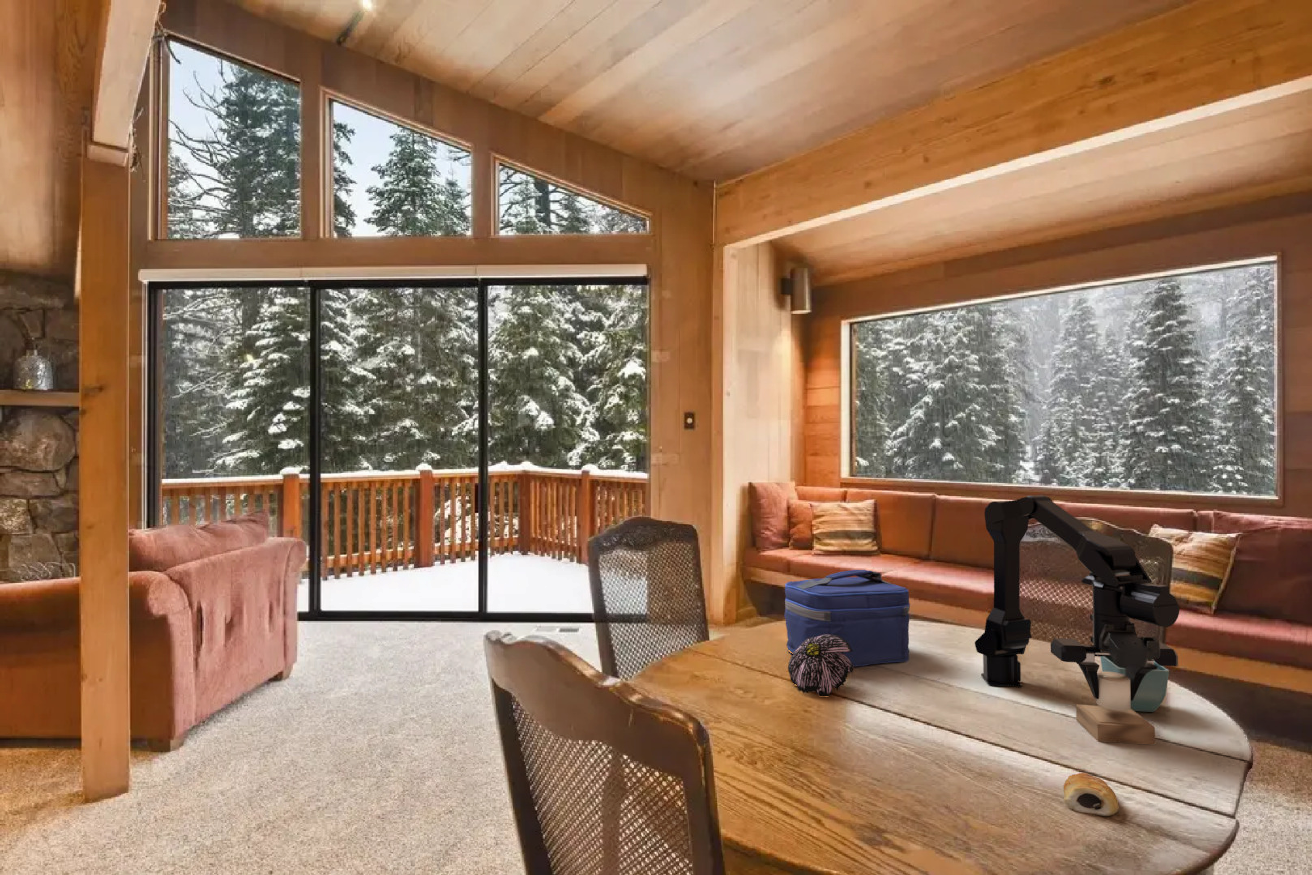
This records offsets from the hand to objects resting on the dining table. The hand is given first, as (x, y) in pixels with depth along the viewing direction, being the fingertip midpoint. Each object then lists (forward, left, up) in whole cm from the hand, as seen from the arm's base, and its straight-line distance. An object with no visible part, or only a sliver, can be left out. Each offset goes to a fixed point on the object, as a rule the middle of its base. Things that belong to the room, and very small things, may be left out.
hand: (1113, 699), depth 124 cm
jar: (0, 0, -1) cm, 1 cm away
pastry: (-15, -26, -6) cm, 31 cm away
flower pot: (+9, +13, -6) cm, 17 cm away
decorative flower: (-51, +16, -6) cm, 54 cm away
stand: (0, 0, -6) cm, 6 cm away
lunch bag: (-43, +40, -6) cm, 59 cm away
